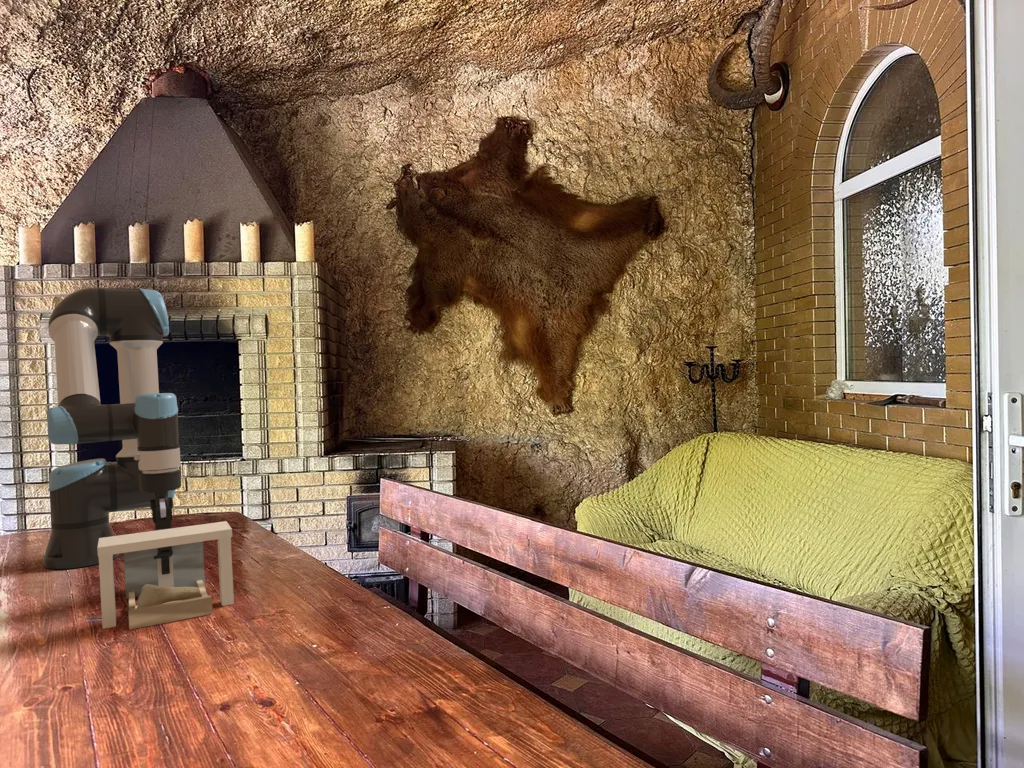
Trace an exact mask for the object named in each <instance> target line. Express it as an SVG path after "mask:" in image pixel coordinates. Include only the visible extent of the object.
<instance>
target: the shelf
mask: <svg viewBox="0 0 1024 768" xmlns="http://www.w3.org/2000/svg"><path fill="white" fill-rule="evenodd" d="M231 538H233V528H232V527H231V526H230V524H229V522H227V521H226V520H224V521H218V522H210V523H203V524H196V525H195V524H194V525H188V526H180V527H179V526H178V527H173V528H172V527H171V529H164V530H156V531H155V530H150V531H141V532H135V533H128V534H120V535H114V536H111V537H104V538H99V541H98V547H97V550H98V557H99V564H98V571H99V572H98V573H99V588H100V591H99V592H100V604H101V605H100V609H101V626H102V628H101V629H103V630H104V629H109V628H114V627H117V613H116V611H117V610H116V609H117V607H116V590H115V588H116V587H115V574H114V571H115V570H114V559H113V554H119V555H120V554H124V553H126V552H133V551H140V550H147V549H154V548H161V547H168V546H175V545H182V544H189V543H195V542H202V541H203V542H208V541H209V542H210V541H216V540H217V541H216V543H217V558H218V560H217V561H218V579H219V581H218V582H219V596H220V597H219V599H220V604H221V606H222V607H227V606H232V605H235V598H234V593H235V592H234V578H233V577H234V575H233V556H232V539H231Z"/></svg>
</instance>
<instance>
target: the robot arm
mask: <svg viewBox="0 0 1024 768" xmlns="http://www.w3.org/2000/svg"><path fill="white" fill-rule="evenodd" d="M167 311H168V310H167V307H166V303H165V300H164V297H163V295H162V294H161V293H160V292H159V291H157V290H155V289H148V288H147V289H146V288H140V287H139V288H125V287H124V288H123V287H122V288H120V287H119V288H116V287H115V288H114V287H112V288H111V287H85V288H82V289H79V290H76V291H74V292H72V293H70V294H68V295H67V296H65V297H64V298H63V299H62V300H60V301H59V303H58V304H57V305H56V306H55V307H54V309H53V310H52V312H51V314H50V316H49V320H48V335H49V337H50V339H51V340H52V341H53V342H54V351H55V352H54V353H55V354H54V356H55V372H56V373H55V374H56V377H55V378H56V392H57V395H56V396H57V397H56V398H57V406H56V407H55V406H54V407H49V408H48V409H47V410H46V421H47V423H46V425H47V438H48V441H49V443H50V444H52V445H79V444H88V443H89V444H90V443H98V442H110V441H113V442H115V441H122V442H121V443H122V449H121V450H120V451H118V453H117V454H116V455H115V459H116V461H115V462H114V463H108V461H107V460H106V459H105V458H103V457H102V458H94V459H88V460H87V459H86V460H82V461H76V462H71V463H68V464H64V465H61V466H58V467H56V468H54V469H52V470H51V471H50V472H49V475H48V489H47V491H48V492H49V507H50V508H49V509H50V529H51V531H50V532H51V533H50V535H49V540H48V543H47V545H46V548H45V552H44V556H43V565H44V568H47V569H50V570H51V569H52V570H65V569H75V568H76V569H77V568H83V567H84V568H85V567H90V566H94V565H99V557H98V550H97V547H98V541H99V538H104V537H111V536H115V534H114V532H113V530H112V527H111V525H110V516H109V515H110V513H115V512H122V511H123V512H124V511H130V510H139V509H145V508H146V509H147V508H150V510H151V516H152V522H153V524H154V531H156V530H164V529H171V528H172V521H173V507H174V497H175V492H176V490H178V489H180V488H181V487H182V471H181V470H180V469H178V468H180V467H181V465H182V464H181V461H182V460H181V448H180V442H179V439H180V438H179V437H180V436H179V416H178V415H179V413H178V412H179V407H178V402H177V401H178V400H177V399H178V398H177V396H176V395H175V394H174V393H172V392H161V393H160V388H159V368H158V354H157V351H158V349H159V348H160V346H161V345H162V344H163V343H164V340H163V339H164V338H163V337H166V336H169V334H170V326H169V324H170V323H169V317H168V312H167ZM98 337H108V338H109V345H110V346H111V347H113V348H114V349H115V350H116V352H117V353H116V355H117V366H118V367H117V368H118V370H117V371H118V385H119V403H115V404H114V403H113V404H110V403H109V404H101V396H100V386H99V377H98V368H97V367H98V365H97V357H96V348H95V346H96V345H95V340H97V338H98ZM157 549H158V553H157V556H154V559H157V567H158V586H162V587H174V576H173V557H172V555H173V551H172V546H168V547H161V548H157ZM119 556H120V553H119V554H113V560H115V559H116V558H118V557H119Z"/></svg>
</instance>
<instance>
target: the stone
mask: <svg viewBox="0 0 1024 768" xmlns="http://www.w3.org/2000/svg"><path fill="white" fill-rule="evenodd" d="M199 597H202V594H201V592H200V590H199V588H198V587H162V586H155V585H150V584H146V585H144V586H143V587H142V589H141V594H140V596H139V597H137V605H138V606H137V608H143V607H149V606H154V605H160V604H163V603H167V602H172V601H181V600H187V599H193V598H199ZM137 608H136V609H137Z"/></svg>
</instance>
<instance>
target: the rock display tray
mask: <svg viewBox="0 0 1024 768" xmlns="http://www.w3.org/2000/svg"><path fill="white" fill-rule="evenodd" d="M172 551H173V555H172V557H173V576H174V587H198V588H199V590H200V592H201V594H202V597H199V598H193V599H187V600H181V601H172V602H167V603H163V604H160V605H154V606H149V607H143V608H137V606H138V604H136V598H139V596H140V594H141V589H142V587H143V586H144V585H146V584H150V585H155V586H158V567H157V559H154V556H157V553H158V549H157V548H154V549H147V550H140V551H133V552H126V553H123V566H124V582H125V583H124V584H125V585H124V586H125V599H126V600H128V628H129V629H128V630H135V629H139V628H145V627H150V626H155V625H162V624H165V623H171V622H177V621H182V620H183V621H184V620H187V619H192V618H197V617H203V616H208V615H212V614H213V598H212V597H213V596H212V595H210V594H209V595H208V592H207V589H206V580H205V562H204V561H205V559H204V541H202V542H195V543H189V544H182V545H175V546H172ZM136 608H137V609H136Z"/></svg>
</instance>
